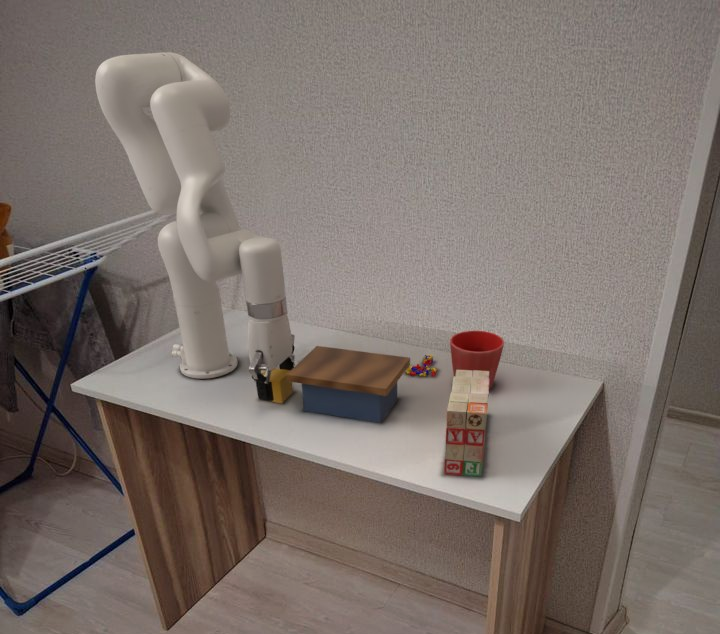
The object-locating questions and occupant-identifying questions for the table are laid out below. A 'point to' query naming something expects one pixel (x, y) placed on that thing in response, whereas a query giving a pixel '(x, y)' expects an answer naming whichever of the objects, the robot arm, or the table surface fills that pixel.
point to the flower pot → (476, 352)
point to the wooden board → (349, 370)
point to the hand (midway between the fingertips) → (277, 389)
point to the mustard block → (280, 385)
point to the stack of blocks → (466, 423)
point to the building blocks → (427, 361)
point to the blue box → (348, 402)
